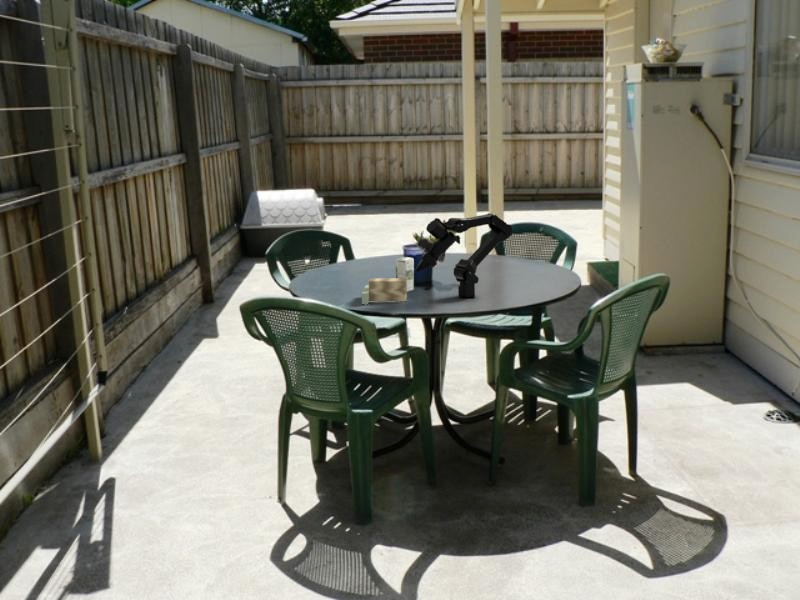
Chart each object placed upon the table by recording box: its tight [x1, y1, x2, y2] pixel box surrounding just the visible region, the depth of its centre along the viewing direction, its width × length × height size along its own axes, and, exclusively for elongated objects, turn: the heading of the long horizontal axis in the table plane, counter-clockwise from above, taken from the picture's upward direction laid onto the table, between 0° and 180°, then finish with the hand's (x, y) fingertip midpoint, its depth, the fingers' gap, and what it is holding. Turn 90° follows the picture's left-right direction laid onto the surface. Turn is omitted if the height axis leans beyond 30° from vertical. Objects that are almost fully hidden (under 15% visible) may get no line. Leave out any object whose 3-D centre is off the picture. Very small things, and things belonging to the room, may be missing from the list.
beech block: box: [368, 277, 407, 302], centre depth 361 cm, size 15×6×9 cm, turn 86°
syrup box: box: [395, 256, 415, 293], centre depth 378 cm, size 6×6×14 cm
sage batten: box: [361, 284, 370, 305], centre depth 362 cm, size 2×16×5 cm, turn 176°
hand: (416, 270), depth 358 cm, fingers closed
